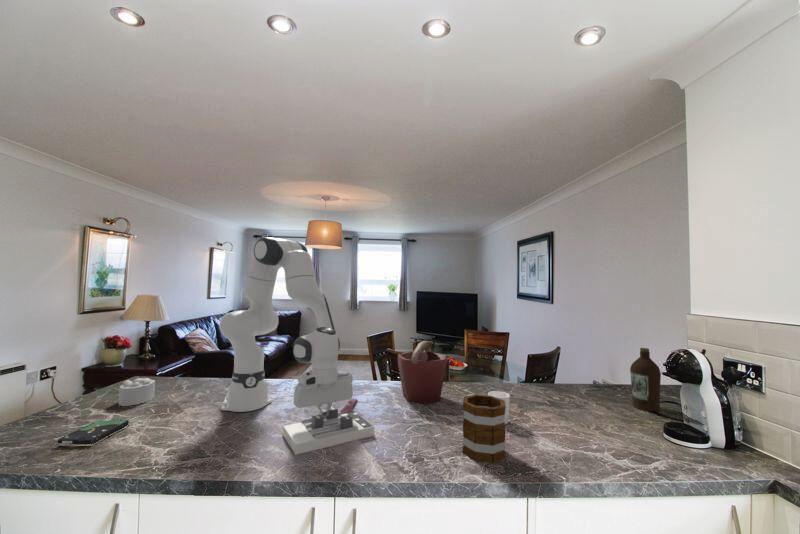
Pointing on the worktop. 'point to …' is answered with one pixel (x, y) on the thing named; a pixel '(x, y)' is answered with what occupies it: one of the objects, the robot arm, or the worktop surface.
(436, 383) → the bucket
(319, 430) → the switch bank
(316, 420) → the middle tab
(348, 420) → the tab
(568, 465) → the worktop surface
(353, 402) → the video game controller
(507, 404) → the white cup
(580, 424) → the worktop surface
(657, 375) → the olive oil
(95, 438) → the disk drive
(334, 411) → the tab
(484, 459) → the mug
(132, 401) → the lumpy-topped squat cylinder
